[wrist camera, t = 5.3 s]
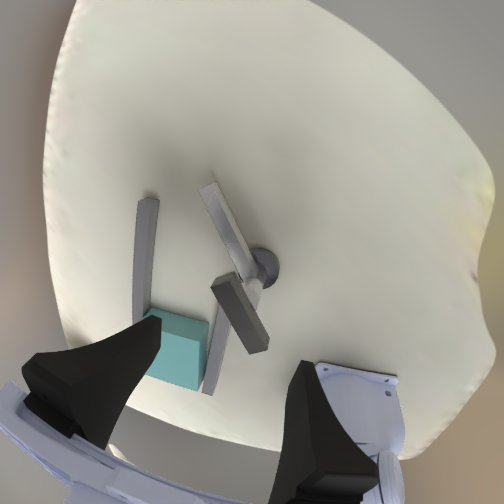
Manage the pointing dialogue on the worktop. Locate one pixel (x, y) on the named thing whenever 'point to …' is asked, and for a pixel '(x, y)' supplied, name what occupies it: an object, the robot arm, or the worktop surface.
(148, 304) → the channel
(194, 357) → the cover
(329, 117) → the worktop surface
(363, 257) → the worktop surface
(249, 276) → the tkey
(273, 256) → the key socket
